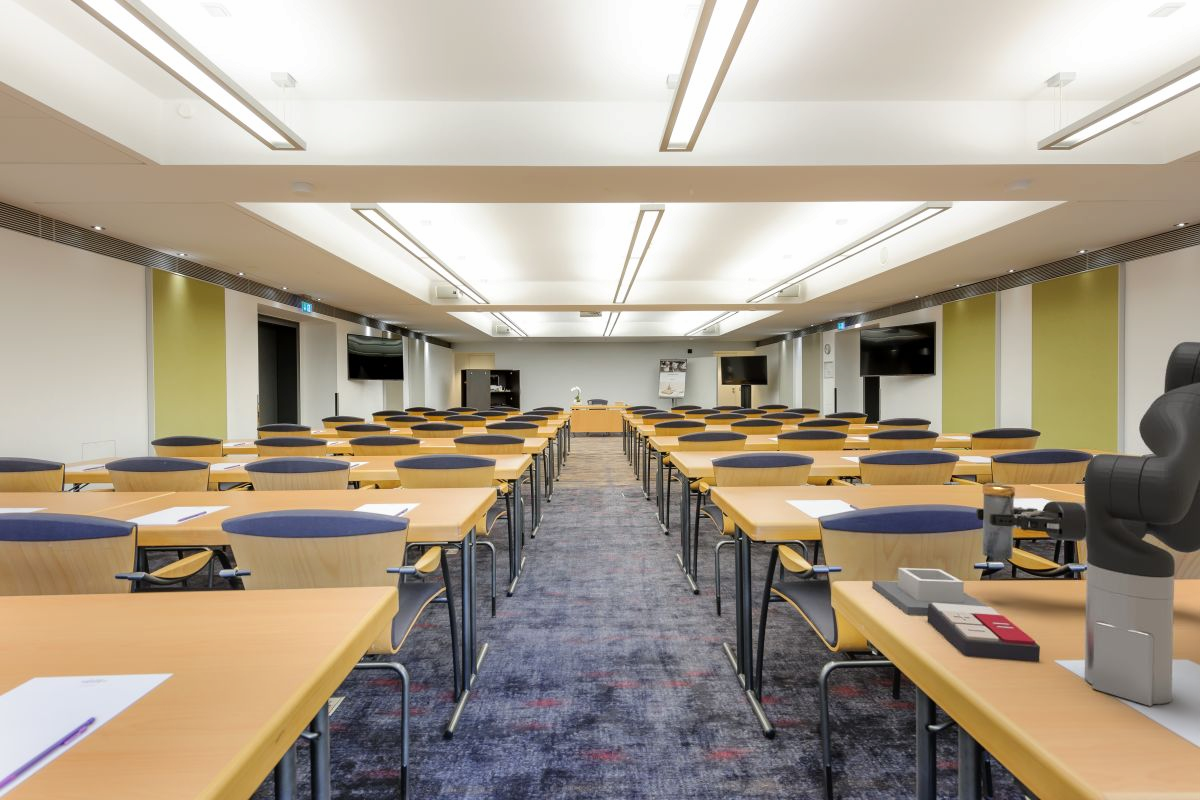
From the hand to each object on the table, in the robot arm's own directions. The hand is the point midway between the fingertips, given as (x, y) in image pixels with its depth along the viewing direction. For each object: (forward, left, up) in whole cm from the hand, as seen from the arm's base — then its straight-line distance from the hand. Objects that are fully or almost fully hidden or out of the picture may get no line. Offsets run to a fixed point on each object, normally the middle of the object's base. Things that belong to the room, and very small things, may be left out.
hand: (984, 516), depth 117 cm
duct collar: (-8, +7, -18) cm, 21 cm away
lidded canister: (+2, -2, -8) cm, 8 cm away
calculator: (-22, -6, -18) cm, 29 cm away
